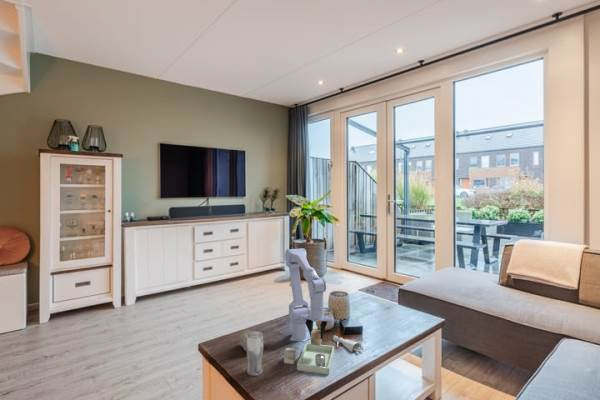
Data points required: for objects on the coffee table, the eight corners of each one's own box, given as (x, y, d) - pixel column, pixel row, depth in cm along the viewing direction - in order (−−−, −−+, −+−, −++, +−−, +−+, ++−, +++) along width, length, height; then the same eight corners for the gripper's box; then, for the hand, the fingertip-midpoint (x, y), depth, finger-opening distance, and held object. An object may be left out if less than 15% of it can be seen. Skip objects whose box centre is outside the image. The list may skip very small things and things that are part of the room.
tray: (306, 349, 143) (306, 342, 143) (334, 352, 140) (334, 346, 140) (296, 371, 126) (296, 364, 126) (328, 376, 123) (328, 368, 123)
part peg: (316, 365, 130) (316, 353, 130) (325, 366, 129) (325, 354, 129) (314, 370, 126) (314, 358, 126) (324, 371, 125) (324, 359, 125)
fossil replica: (256, 340, 152) (236, 347, 147) (254, 323, 152) (234, 329, 147) (265, 350, 141) (244, 357, 137) (263, 331, 141) (242, 338, 137)
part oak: (310, 344, 135) (310, 333, 135) (312, 340, 139) (312, 329, 139) (319, 345, 134) (319, 334, 134) (321, 341, 138) (321, 330, 138)
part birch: (286, 359, 135) (286, 347, 135) (295, 360, 134) (295, 349, 134) (284, 364, 131) (284, 352, 131) (293, 365, 130) (293, 353, 130)
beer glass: (255, 364, 131) (255, 329, 130) (267, 370, 126) (267, 334, 126) (242, 372, 125) (242, 335, 125) (254, 378, 121) (254, 340, 120)
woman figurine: (352, 348, 136) (324, 336, 150) (352, 359, 136) (325, 345, 150) (369, 341, 143) (342, 329, 157) (370, 351, 143) (342, 338, 157)
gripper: (298, 308, 135) (298, 339, 136) (331, 311, 131) (331, 343, 132) (302, 302, 142) (302, 332, 142) (334, 306, 138) (334, 336, 138)
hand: (316, 337), depth 137 cm, fingers closed on part oak, 4 cm apart
